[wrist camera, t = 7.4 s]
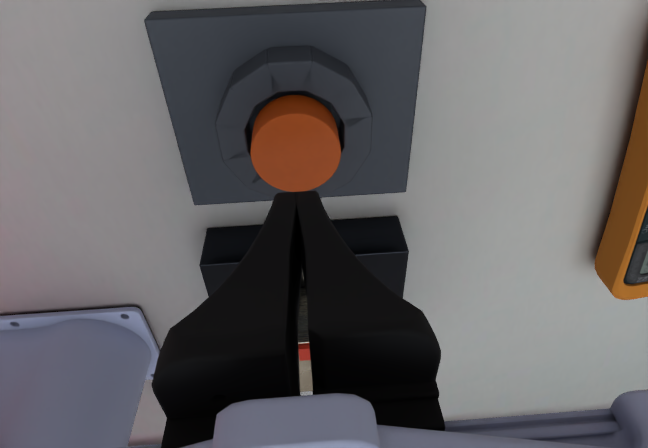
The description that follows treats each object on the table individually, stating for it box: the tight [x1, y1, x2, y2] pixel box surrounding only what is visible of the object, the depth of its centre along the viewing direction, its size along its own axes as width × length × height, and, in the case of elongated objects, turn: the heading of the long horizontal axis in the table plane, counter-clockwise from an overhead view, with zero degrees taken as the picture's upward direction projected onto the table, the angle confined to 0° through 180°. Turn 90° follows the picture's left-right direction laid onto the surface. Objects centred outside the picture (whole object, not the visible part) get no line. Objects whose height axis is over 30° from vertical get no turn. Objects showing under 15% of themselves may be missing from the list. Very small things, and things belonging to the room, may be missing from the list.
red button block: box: [298, 288, 313, 392], centre depth 25 cm, size 5×2×4 cm, turn 1°
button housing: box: [144, 0, 426, 205], centre depth 20 cm, size 11×9×3 cm
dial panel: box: [200, 216, 409, 298], centre depth 27 cm, size 11×9×3 cm
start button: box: [250, 95, 341, 192], centre depth 18 cm, size 4×4×2 cm
